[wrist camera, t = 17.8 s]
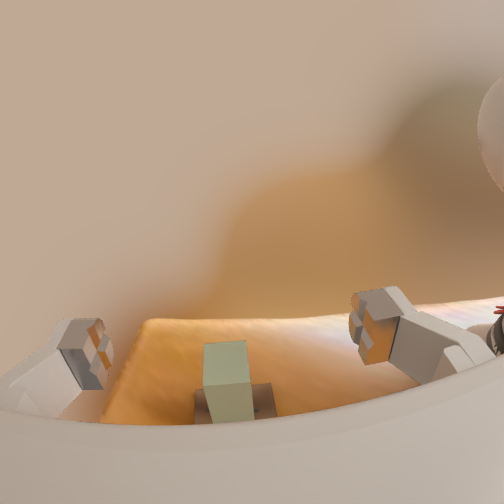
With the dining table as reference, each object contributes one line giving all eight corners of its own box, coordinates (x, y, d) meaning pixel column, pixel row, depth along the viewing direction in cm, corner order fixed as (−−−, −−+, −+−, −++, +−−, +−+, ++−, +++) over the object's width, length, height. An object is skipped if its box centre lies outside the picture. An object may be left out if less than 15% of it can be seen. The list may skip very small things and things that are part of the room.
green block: (216, 399, 38) (203, 343, 33) (251, 396, 38) (245, 340, 34) (217, 438, 33) (202, 385, 28) (256, 434, 33) (250, 381, 28)
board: (196, 393, 40) (195, 389, 40) (270, 386, 40) (270, 382, 40) (195, 524, 23) (193, 522, 23) (294, 516, 24) (295, 514, 23)
